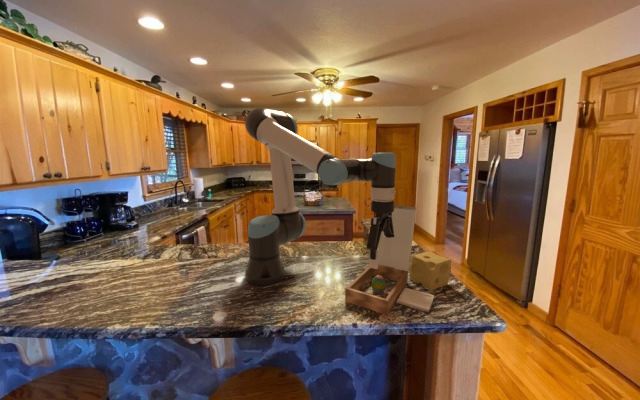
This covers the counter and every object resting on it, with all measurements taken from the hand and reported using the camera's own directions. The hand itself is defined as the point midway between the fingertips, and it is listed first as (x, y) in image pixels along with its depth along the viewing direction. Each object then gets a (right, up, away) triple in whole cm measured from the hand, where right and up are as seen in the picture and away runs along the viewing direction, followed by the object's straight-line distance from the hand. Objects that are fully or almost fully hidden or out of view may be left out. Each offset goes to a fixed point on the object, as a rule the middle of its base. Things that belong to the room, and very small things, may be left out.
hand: (380, 261), depth 89 cm
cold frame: (+1, -11, +4) cm, 12 cm away
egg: (0, -11, +2) cm, 12 cm away
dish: (+11, -12, -4) cm, 17 cm away
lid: (+8, +7, +12) cm, 16 cm away
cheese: (+20, -10, +9) cm, 24 cm away
